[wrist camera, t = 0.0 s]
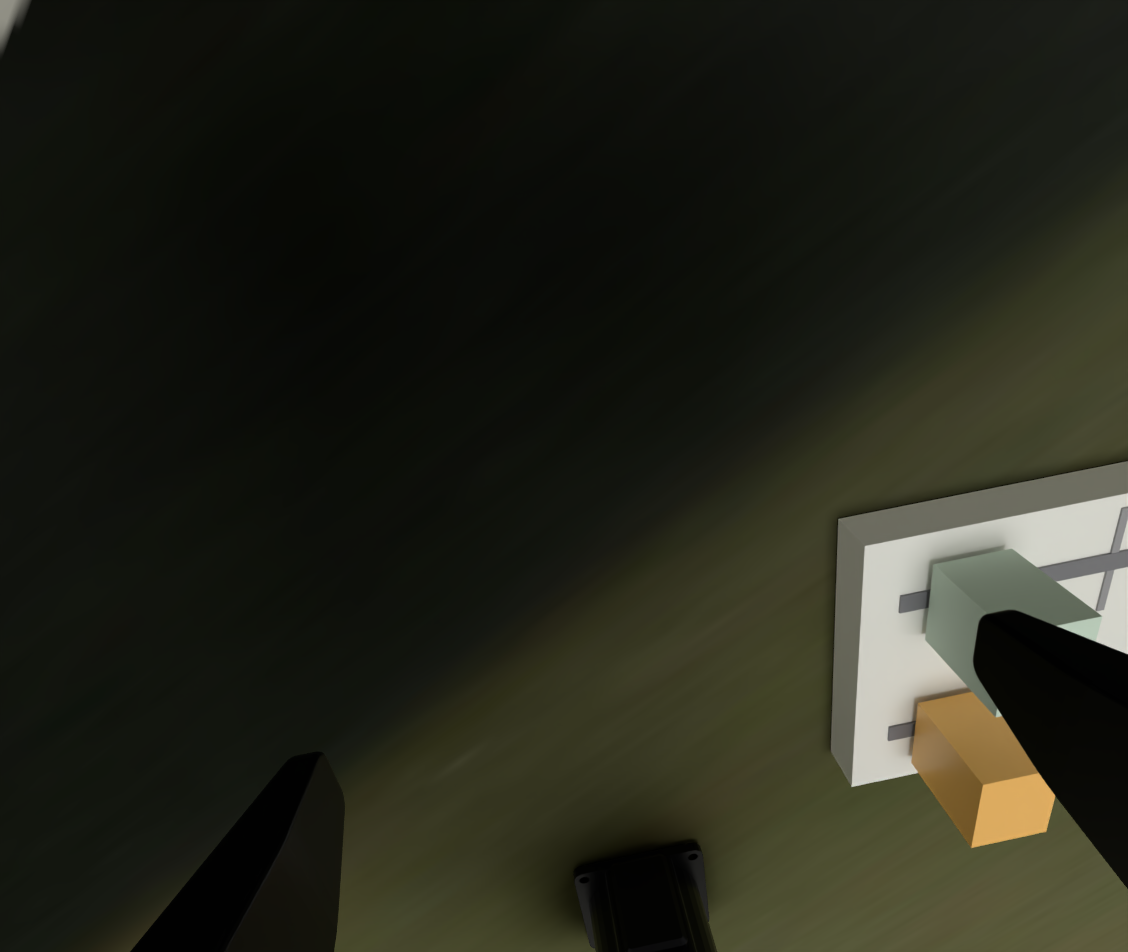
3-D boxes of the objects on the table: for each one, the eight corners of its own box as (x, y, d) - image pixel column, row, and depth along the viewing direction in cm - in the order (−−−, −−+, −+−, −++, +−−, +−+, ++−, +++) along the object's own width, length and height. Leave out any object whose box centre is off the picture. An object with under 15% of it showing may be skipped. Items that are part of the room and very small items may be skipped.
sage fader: (998, 624, 26) (1080, 699, 23) (924, 639, 26) (995, 717, 23) (1011, 548, 25) (1102, 616, 21) (933, 564, 24) (1010, 634, 21)
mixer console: (1230, 667, 32) (1275, 698, 31) (830, 751, 32) (852, 788, 30) (1325, 421, 27) (1389, 442, 25) (838, 518, 26) (866, 547, 24)
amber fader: (976, 748, 29) (1045, 831, 26) (911, 762, 29) (971, 847, 26) (987, 688, 28) (1062, 767, 24) (917, 702, 28) (982, 785, 24)
